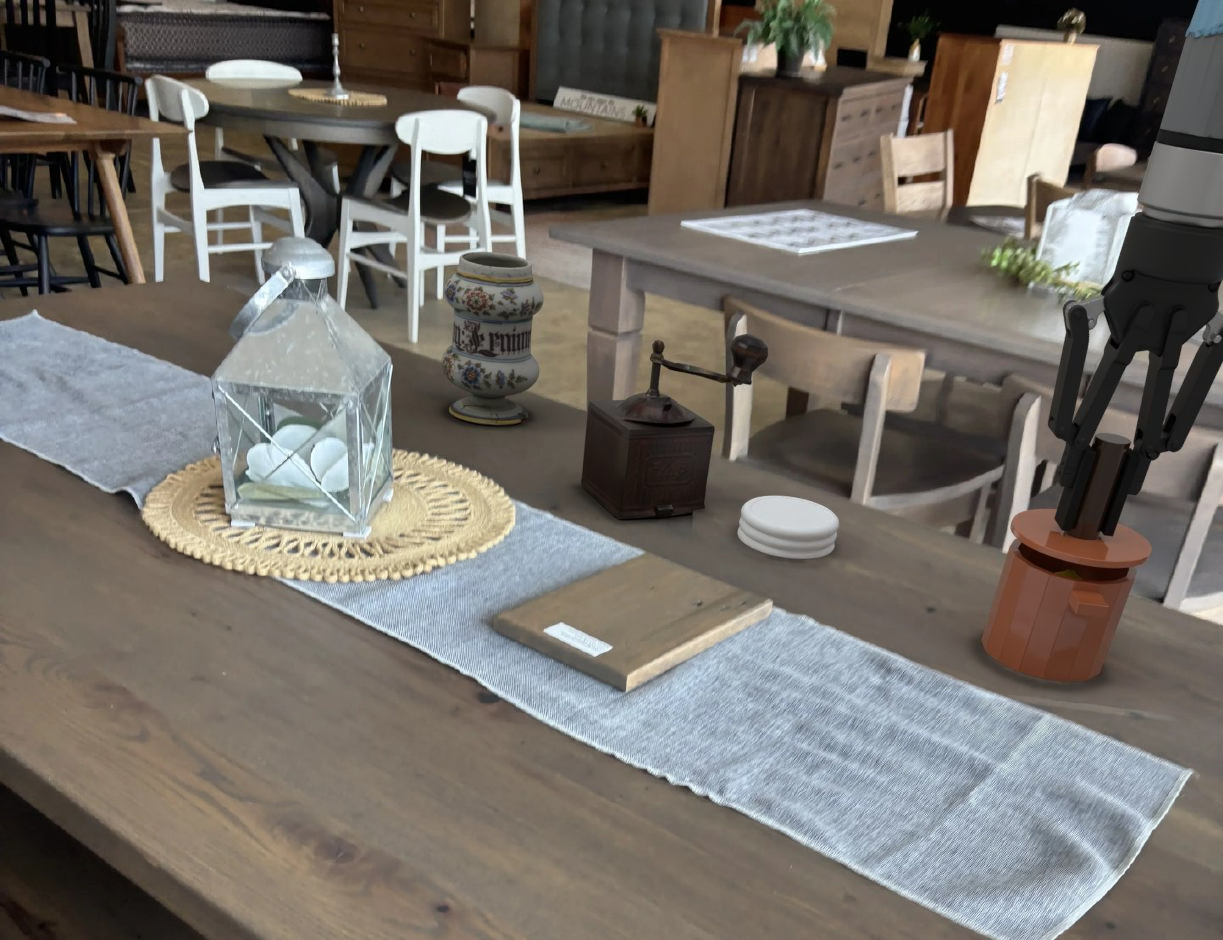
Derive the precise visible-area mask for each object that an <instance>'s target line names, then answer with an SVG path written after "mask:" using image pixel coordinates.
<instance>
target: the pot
mask: <svg viewBox="0 0 1223 940" xmlns="http://www.w3.org/2000/svg"><path fill="white" fill-rule="evenodd" d="M1067 569H1071V570H1074V571H1075V573H1076V575H1078V576H1080V577H1081V578H1082V579H1075V578H1071V577H1067V576H1063V575H1059V574H1056V573H1055V572H1062V571H1066V570H1067ZM1137 574H1138V569H1137V567H1136V566H1135V567H1129V568H1102V567H1093V566H1087V565H1081V564H1076V563H1072V562H1068V561H1064V560H1061V559H1057V558H1054V557H1051V556H1049V555H1046V554H1043V553H1041V552H1039V551H1036V550H1034V549H1032V548H1030V547H1029V546H1027V545H1025V544H1024V543H1022V542H1021V541H1019V540H1018V539H1017V538H1014V539H1013V541H1012V542H1011V544H1010V545H1009V547H1008V550H1007V554H1006V557H1005V561H1004V564H1003V567H1002V570H1001V574H1000V577H999V580H998V583H997V587H996V591H995V594H994V597H993V600H992V604H991V607H990V610H989V613H988V616H987V620H986V624H985V627H984V630H983V634H982V636H981V637H982V638H981V640H980V641H981V644H982V646H983V649H984V651H985V652H986V654H988V655H989V656H990V657H991V658H993V659H994V660H995V661H996V662H998V663H999V664H1001V665H1004V666H1005V667H1007V668H1010V669H1012V670H1014V671H1016V672H1019V673H1021V674H1024V675H1028V676H1031V677H1034V678H1035V677H1036V678H1038V679H1041V680H1046V681H1047V680H1049V681H1056V682H1065V683H1070V682H1071V683H1072V682H1083V681H1088V680H1091V679H1093V678H1095V677H1097V676H1099V675H1100V674H1101V672H1102V669H1103V666H1104V664H1105V660H1106V658H1107V655H1108V652H1109V650H1110V647H1111V644H1112V641H1113V640H1114V637H1115V634H1116V631H1117V628H1118V626H1119V623H1120V620H1121V618H1122V615H1123V612H1124V610H1125V607H1126V604H1127V601H1128V598H1129V596H1130V593H1131V590H1132V588H1133V586H1134V583H1135V580H1136V577H1137Z"/></svg>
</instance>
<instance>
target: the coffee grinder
mask: <svg viewBox="0 0 1223 940" xmlns="http://www.w3.org/2000/svg"><path fill="white" fill-rule="evenodd" d="M651 347H652V348H651V349H652V352H651V354H650V356H649V361H650V362H651V372H650V381H649V388H648V389H647V391H645V392H640V393H635V394H633V395H631V396H628V397H626V398H625V399H608V400H589V402H588V405H587V416H586V424H585V425H586V427H585V436H584V449H583V458H582V459H583V460H582V469H581V470H582V472H581V479H580V485H581V487H582V488H583V489H584V491H585V492H586V493H587V494H588V495H589V496H591V497H592V498H593V499H594V500H595V501H596V502H597V503H599V504H600V505H601V506H602V507H603V508H604V509H605V510H607V511H608V512H609V513H610V514H611V515H613V516H614V517H615V518H617V519H619V520H636V519H637V520H638V519H651V518H655V519H656V518H667V517H673V516H679V515H689V514H693V513H694V511H696V510H704V509H706V505H705V501H706V492H707V484H708V478H709V471H710V464H711V457H712V449H713V443H714V438H715V437H714V436H715V432H716V431H715V430H716V429H715V425H714V424H712V423H711V422H709V421H708V420H706V419H705V418H703V417H702V416H700V415H698V414H697V413H695V412H693V410H691V409H689V408H687V407H686V406H684V405H682V404H680V403H678V401H676V400H675V399H674V398H672V397H671V396H669V395H667V394H664V393H661V392H660V376H661V369H662V368H661V367H662V366H663V367H664V368H666V369H667V370H669V371H672V372H678V373H681V374H682V373H683V374H687V375H688V374H689V375H692V376H696V377H697V376H698V377H701V378H704V379H708V380H711V381H714V382H717V383H719V384H732V386H733V387H734V388H736V387H737V386H742V385H747V386H751V385H752V383H753V380H752V378H753V376H752V375H753V373H754V371H756V370H757V368H759V367H760V366H761V365H763V364H765V363H766V361H767V360H768V357H769V348H768V347H769V346H767V345H766V343H765V342H764V341H763V339H761V338H760V337H758V336H757V335H753V334H750V333H743V334H739V335H736V336H735V337H734V338H733V339H732V341H731V343H730V352H731V356H732V364H731V367H730V368H729V370H728V371H726V373H725V374H722V373H719V372H715V371H712V370H709V369H707V368H703V367H700V366H696V365H691V364H686V363H681V362H673V361H670V360H667V359H665V356H664V354H663V353H664V350H665V347H666V346H665V343H664V341H662V340H660V339H655V340H654V342H653V343H652V345H651Z"/></svg>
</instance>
